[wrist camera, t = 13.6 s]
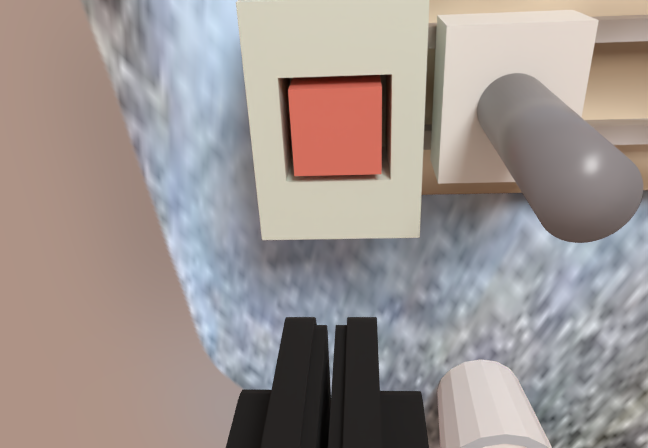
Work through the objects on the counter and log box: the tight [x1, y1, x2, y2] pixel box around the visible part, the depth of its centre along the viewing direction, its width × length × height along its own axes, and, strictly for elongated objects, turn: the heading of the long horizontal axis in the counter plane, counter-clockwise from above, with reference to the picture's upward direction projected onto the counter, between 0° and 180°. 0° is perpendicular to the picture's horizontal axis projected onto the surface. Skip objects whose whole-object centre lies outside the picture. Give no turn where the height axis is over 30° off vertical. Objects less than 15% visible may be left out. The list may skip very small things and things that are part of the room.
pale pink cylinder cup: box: [437, 360, 552, 448], centre depth 37 cm, size 7×7×7 cm
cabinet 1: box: [236, 0, 429, 240], centre depth 26 cm, size 10×7×8 cm
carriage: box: [430, 10, 643, 243], centre depth 22 cm, size 7×6×12 cm
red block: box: [288, 75, 382, 176], centre depth 24 cm, size 4×4×4 cm
